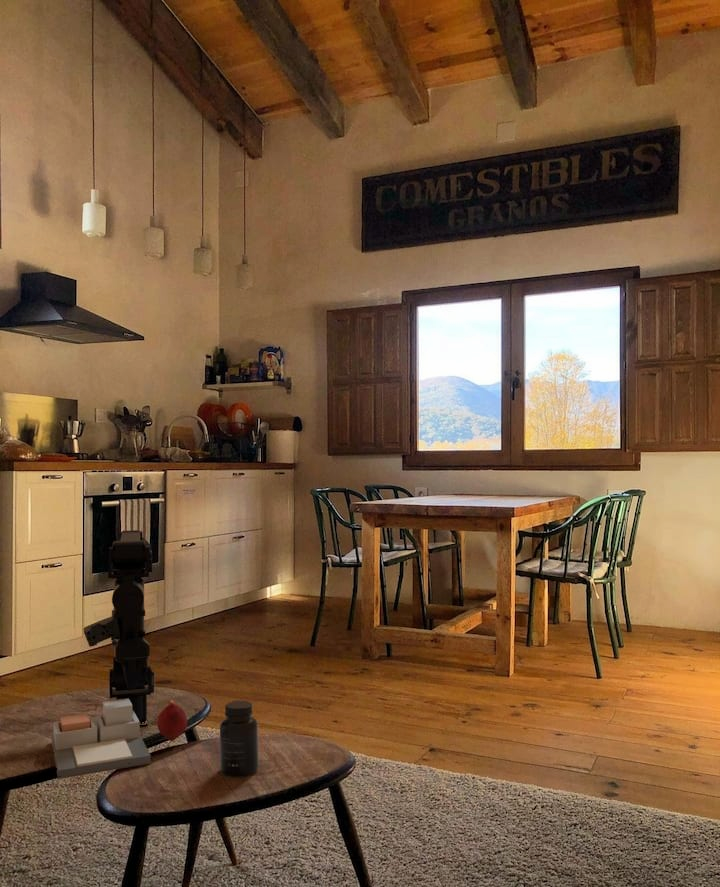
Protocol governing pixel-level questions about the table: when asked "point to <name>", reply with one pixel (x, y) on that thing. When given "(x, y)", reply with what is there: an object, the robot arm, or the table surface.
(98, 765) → the board
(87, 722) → the reddish-brown block
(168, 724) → the onion
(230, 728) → the supplement bottle
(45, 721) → the table surface
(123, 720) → the block
